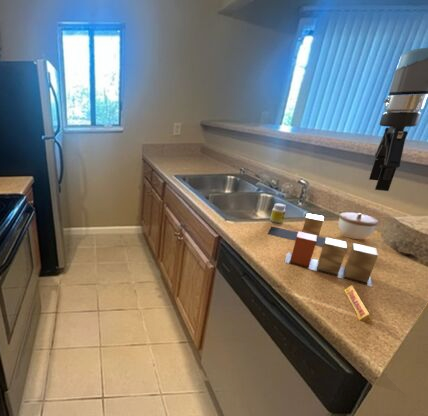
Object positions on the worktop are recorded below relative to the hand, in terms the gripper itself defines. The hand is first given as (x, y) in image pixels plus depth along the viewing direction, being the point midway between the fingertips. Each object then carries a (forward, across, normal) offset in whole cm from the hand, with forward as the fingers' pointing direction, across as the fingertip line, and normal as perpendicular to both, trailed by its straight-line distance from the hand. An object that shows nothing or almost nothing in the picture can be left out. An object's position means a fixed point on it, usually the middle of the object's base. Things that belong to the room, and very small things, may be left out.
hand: (377, 184), depth 84 cm
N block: (+24, +16, -1) cm, 29 cm away
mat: (+24, -5, -17) cm, 30 cm away
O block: (+24, -5, -13) cm, 28 cm away
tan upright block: (+24, +16, -8) cm, 30 cm away
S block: (+24, +15, -15) cm, 32 cm away
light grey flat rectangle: (+24, +16, -8) cm, 30 cm away
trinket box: (+25, -17, 0) cm, 30 cm away
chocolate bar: (+25, +32, -2) cm, 40 cm away
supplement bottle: (+24, -15, -25) cm, 38 cm away
